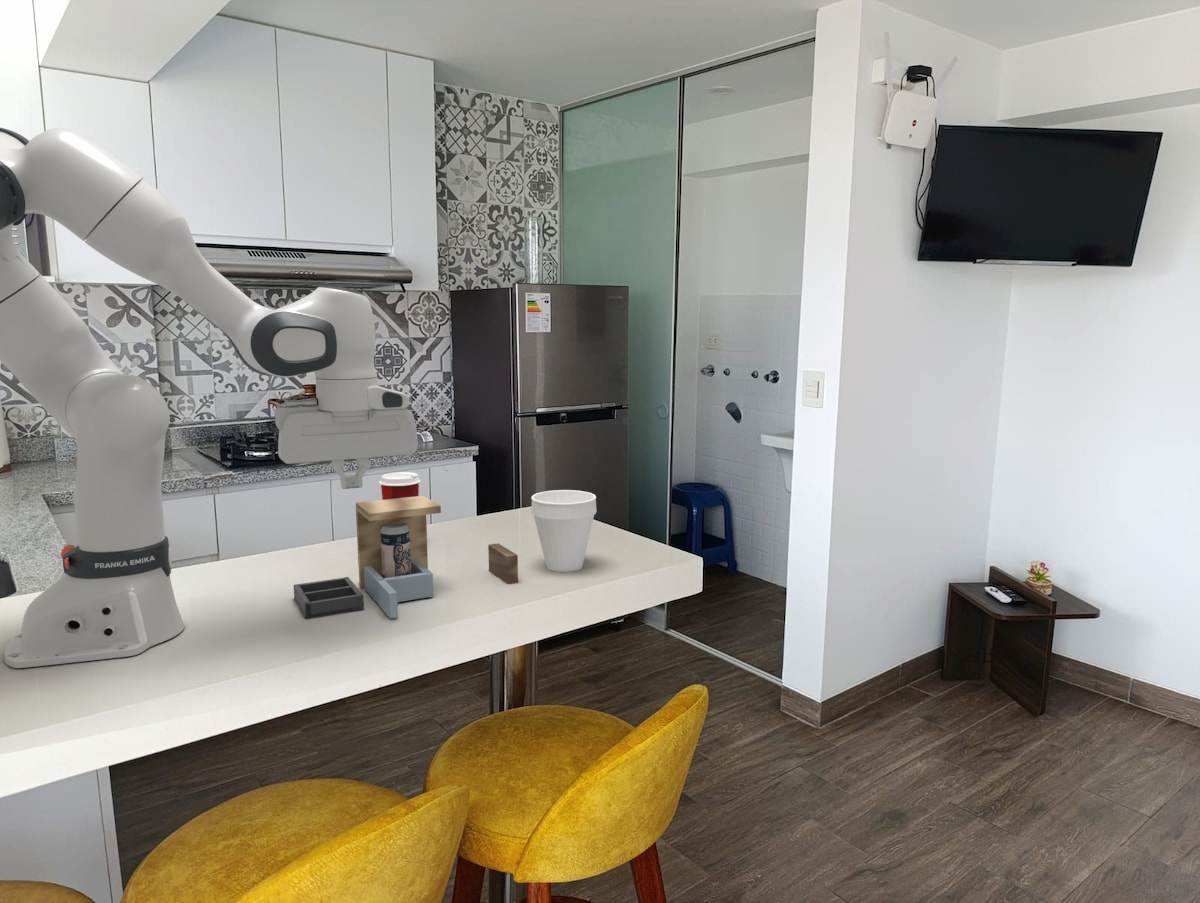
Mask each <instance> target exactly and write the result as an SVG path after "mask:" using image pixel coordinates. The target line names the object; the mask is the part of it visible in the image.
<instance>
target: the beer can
mask: <svg viewBox="0 0 1200 903" xmlns="http://www.w3.org/2000/svg"><path fill="white" fill-rule="evenodd" d="M380 532H381V553H382V576H383V578H390V577H397V576H404V575H410V574H411V559H410V532H409V528H408V527H407V525H406V523H401V522H392V523H387V524H384V525H383V527H382V529H381V531H380Z"/></svg>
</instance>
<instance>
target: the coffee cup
mask: <svg viewBox="0 0 1200 903" xmlns="http://www.w3.org/2000/svg"><path fill="white" fill-rule="evenodd" d="M420 483H421V479H420V478H419V474H418V473H416V472H409V471H397V472H389V473H385V474H383V475H381V477H380V480H379V481H378V484H379V485H380V489H381V500H387V499H396V498H406V497H416V496H420V495H419V491H420V489H419V488H420V486H419V485H420Z"/></svg>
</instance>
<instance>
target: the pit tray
mask: <svg viewBox="0 0 1200 903" xmlns="http://www.w3.org/2000/svg"><path fill="white" fill-rule="evenodd" d="M293 597H294V601H295V602H296V604H297V606H298V607H299V609H300V611H301V612H302V615H303V616H304V618H305V620H308V619H314V618H321V617H326V616H332V615H339V614H343V613H344V614H345V613H350V612H355V611H356V612H357V611H362V610H365V603H364V602H365V600H364V597H365V596H364V594H363V593H362V592H361V589H360V588H358V587H357V586H356V584H354V582H353V581H352V579H351V578H350V577H349V576H345V577H339V578H332V579H325V580H319V581H311V582H305V583H297V584H296V583H295V584H293Z"/></svg>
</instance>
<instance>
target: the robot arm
mask: <svg viewBox="0 0 1200 903" xmlns="http://www.w3.org/2000/svg"><path fill="white" fill-rule="evenodd" d="M28 214H36V215H37V214H38V215H42V216H45V217H48V218H50V219H52V220H54V221H56V222H57V223H59V224H60V225H62V226H63V227H65V228H66V229H67V230H68V231H70V232H71V233H72V234H74V235H75V236H76V237H77V238H78V239H80V240H81V241H82V242H84V243H85V244H86V245H87V246H89V247H90V248H92V249H93V250H95V251H96V252H98V254H100V255H102V256H104V257H105V258H107V259H108V260H110V261H111V262H113V263H114V264H116V265H118V266H120V267H122V268H123V269H126V270H127V271H128V272H130V273H132V274H135V275H137V276H139V277H141V278H143V279H145V280H147V281H150V282H151V283H153V284H156V285H158V286H160V287H162V288H164V289H166V290H167V291H169V292H171V293H173V294H174V295H176V296H177V297H179V298H180V299H181V300H182V301H184V303H186V304H188V305H189V306H190V307H191V308H192V309H194V310H195V311H197V312H198V313H199V314H200V315H201V316H202V317H203V318H205V319H206V320H207V321H209V322H210V323H211V324H212V325H214V326H215V327H216V328H218V329H219V330H220V331H221V332H222V333H223V334H224V335H225V336H226V337H227V340H228V341H229V342H230V344H231V345H232V347H233V349H234V351H235V354H236V355H237V356H238V358H239V360H240V361H241V362H242V363H243V365H245V366H246V367H247V368H248V369H250V370H251V371H252V372H254V373H257V374H259V375H262V376H268V377H269V376H270V377H278V378H283V379H285V378H294V377H298V376H301V375H304V374H308V373H312V372H313V373H314V374H315V375H314V376H315V390H316V391H315V393H316V396H315V398H305V399H304V398H303V399H286V400H284V402H282V403H280V404H278V405H277V407H276V408H275V410H274V423H275V426H276V428H277V429H278V440H277V442H278V444H277V445H278V446H277V447H278V448H277V449H278V450H277V454H278V457H279V459H280V460H281V461H282V462H283V463H285V464H287V465H290V464H291V465H294V464H304V463H316V462H318V463H319V462H329V461H331V466H332V467H333V469H334V470H335V472H336V473H337V475H338V476H339V478H340V479H339V480H340V488H341V489H342V490H347V489H360V488H363V477H364V475H365V474H366V471H367V469H368V468H369V466H370V459H371V458H382V457H394V456H397V457H398V456H407V455H409V456H410V455H413V454H415V452H416V451H417V449H418V447H419V441H418V432H417V425H416V420H415V416H414V414H413V413H412V412H411V411H410V410H409V409H407V408H408V407H409V406H410V396H409V395H408V394H407V393H404V392H402V391H399V390H395V389H392V388H390V387H388V386H379V384H378V373H377V369H376V367H375V360H374V359H375V353H376V350H377V349H376V348H377V345H376V344H377V343H376V341H377V340H376V329H375V320H374V314H373V309H372V308H373V307H372V304H371V302H370V300H369V298H368V297H367V296H366V295H365V294H364V293H362V292H360V291H358V290H354V289H351V288H346V287H342V286H332V285H321V286H318V287H316V289H315V290H313V291H312V292H311V293H309V294H308V295H306V296H304V297H301V299H298V300H296V301H294V302H291V303H290V304H286V305H283V306H281V307H279V308H276V309H274V308H269V307H267V306H263V305H262V304H259V303H257V302H255V301H254V300H252V299H251V298H250V297H248V295H246V294H245V293H244V292H243V291H241V290H240V289H239V288H238V287H237V286H235V285H234V284H233V283H232V282H231V281H230V280H229V279H227V278H226V277H225V276H223V275H222V274H221V273H220V272H219V271H218V270H217V269H215V268H214V267H213V266H212V265H211V264H210V263H209V262H208V261H207V259H206V258H204V256H203V255H202V253H201V251H200V250H199V248H198V247H197V244H196V243H195V241H194V240H195V239H194V238H193V235H192V233H191V230H190V227H189V225H188V222H187V220H186V219H185V217H184V216H183V215H182V214H181V213H180V211H179V210H178V209H177V208H176V207H175V206H174V205H173V203H171V201H170V200H169V199H168V198H167V197H166V196H165V195H164V194H163V193H162V192H161V191H160V190H159V189H157V187H155V186H154V185H153V184H152V183H150V182H149V181H148V180H147V179H146V178H144V176H142V175H141V174H140V173H139V172H137V171H136V170H134V168H132V167H131V166H130V165H128V164H127V163H126V162H124V161H122V159H120V158H119V157H117V156H116V155H114V154H113V153H111V152H110V151H108V150H107V149H106V148H104V147H103V146H101V145H99V144H97V143H96V142H94V141H93V140H91V139H89V138H88V137H86V136H84V135H82V134H81V133H79V132H77V131H75V130H73V129H72V130H71V129H69V128H62V127H59V128H52V129H48V130H46V131H42V132H41V133H39V134H37V135H35V136H34V137H33V138H32V139H30V140H28V138H26V137H24V136H23V135H21V134H20V133H18V132H16V131H13V130H11V129H7V128H4V127H0V362H1V364H3V365H4V366H5V367H6V368H7V370H8V371H9V372H11V373H12V375H13V376H14V377H15V378H16V379H17V380H18V382H20V383H21V385H22V386H23V387H24V388H25V389H26V390H27V391H28V393H30V395H31V396H32V397H33V398H34V399H35V400H36V401H37V402H38V403H39V404H40V406H41V407H42V408H43V409H44V410H45V411H46V412H47V413H48V415H50V416H51V418H52V419H54V421H56V422H57V424H59V425H60V427H61V428H62V429H63V430H65V431H66V433H67V434H69V435H70V436H71V437H72V438H74V439H75V441H76V470H75V472H76V473H75V485H74V490H73V492H72V493H73V495H72V496H73V506H74V513H75V514H74V515H75V523H76V524H75V525H76V536H77V545H73V544H67V545H65V546H63V547H62V548H61V552H60V558H61V559H62V568H63V569H62V570H63V572H64V575H63V576H61V577H60V578H59V579H58V580H57V581H55V582H54V583H52V584H51V585H50V586H49V587H48V588H46V589H45V590H44V591H43V592H42V593H41V594H39V595H38V596H37V597H35V598H34V599H33V600H32V601H31V603H30V604H29V605H28V606H27V609H26V610H25V613H24V615H23V618H22V623H21V632H20V633H18V634H17V635H15V636H14V637H12V638H11V639H10V640H9V641H8V642H7V644H6V646H5V648H4V662H5V664H6V665H7V666H9V667H11V668H15V669H22V668H24V669H25V668H33V667H44V666H51V665H61V664H62V665H63V664H70V663H80V662H88V661H98V660H107V659H116V658H118V659H119V658H125V657H133V656H137V655H139V654H141V653H143V652H145V651H146V650H147V649H149V648H151V647H153V646H155V645H158V644H161V643H163V642H167V641H168V640H170V639H172V638H174V637H175V636H177V635H179V634H180V633H182V631H183V630H184V629H185V627H186V626H185V622H184V620H183V618H182V615H181V613H180V611H179V608H178V605H177V602H176V597H175V595H174V594H175V593H174V589H173V586H172V580H171V574H172V568H173V567H172V565H173V564H172V555H171V545H170V542H169V538H168V537H167V536H166V534H165V533H166V532H165V521H164V520H165V519H164V509H163V496H162V494H163V493H162V477H163V468H164V458H165V446H166V433H167V431H168V429H169V425H170V410H169V407H168V406H169V405H168V403H167V402H166V400H165V399H164V396H163V395H162V394H161V392H159V391H158V389H157V388H155V386H153V384H151V383H150V382H148V381H146V379H143V378H140V377H138V376H135V375H131V374H126V373H124V372H123V371H121V370H120V368H118V367H117V365H116V364H115V363H114V361H112V359H111V358H110V357H109V355H108V354H107V353H106V351H105V350H104V348H102V346H101V344H100V343H99V342H98V341H97V339H96V338H95V336H94V335H93V334H92V333H91V331H90V330H89V328H88V325H87V323H86V322H85V321H84V320H83V319H82V318H81V317H80V316H79V314H78V313H77V312H76V311H75V310H74V309H73V308H72V307H71V305H69V304H68V302H67V301H66V300H65V299H64V298H63V297H62V296H61V295H60V293H58V292H57V291H56V289H55V288H54V287H53V286H52V285H51V284H50V283H49V281H47V280H46V278H45V277H44V276H43V275H42V274H41V273H40V272H39V271H38V270H37V269H36V268H35V266H34V265H33V264H32V263H31V262H29V260H27V258H26V257H25V256H24V255H23V253H22V252H21V251H20V250H19V249H18V246H17V245H16V243H15V242H14V238H13V235H12V234H13V226H19V225H20V224H22V222H24V220H25V219H26V217H27V216H28ZM283 406H285V407H283ZM345 460H356V464H358V465H359V466H358V468H357V469H356V472H355V474H350V475H349V474H348V475H346V474H345V472H344V471H343V469H342V468H344V467H345Z"/></svg>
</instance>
